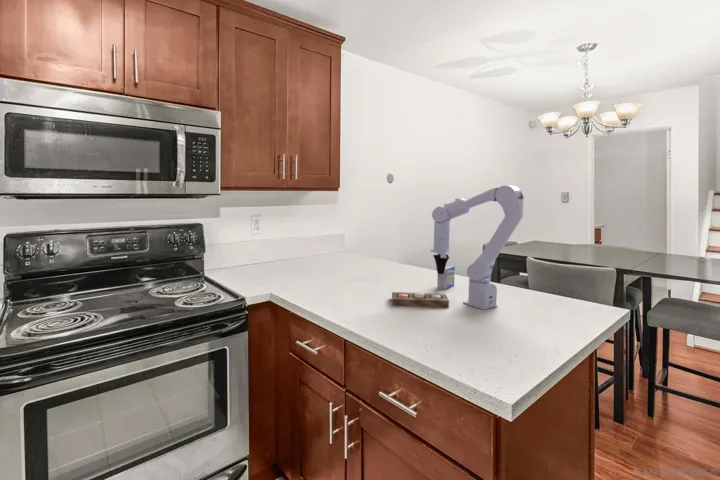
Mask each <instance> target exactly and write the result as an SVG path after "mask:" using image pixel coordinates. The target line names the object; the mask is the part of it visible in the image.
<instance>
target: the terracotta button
mask: <svg viewBox="0 0 720 480" xmlns="http://www.w3.org/2000/svg"><path fill="white" fill-rule="evenodd" d="M398 297H406V298H408V295H407V294H398Z"/></svg>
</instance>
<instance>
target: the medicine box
mask: <svg viewBox="0 0 720 480" xmlns="http://www.w3.org/2000/svg"><path fill="white" fill-rule="evenodd" d="M455 271H456V268H455V266H453V265H446V266H445V270H444V274H438V273H437V289H443V290H448V289H451V288H452V287H455Z"/></svg>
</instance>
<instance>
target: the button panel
mask: <svg viewBox="0 0 720 480" xmlns="http://www.w3.org/2000/svg"><path fill="white" fill-rule="evenodd" d="M414 293H415V292H406V291H405V292H403V291H402V292H396V291H392V292H391V307H411V308H412V307H413V308H414V307H417V308H418V307H419V308H446V309H447V308H448V309H449V308H450V300H449V297H448V296H447V295H446V293H437V292H423V293H424V298H414ZM398 294H407V295H408V298H406V297H398ZM431 295H440V296H441V298H431Z"/></svg>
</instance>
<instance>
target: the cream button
mask: <svg viewBox="0 0 720 480" xmlns="http://www.w3.org/2000/svg"><path fill="white" fill-rule="evenodd" d="M413 293H414V298H424V293H425V292H420V291H419V292H413Z"/></svg>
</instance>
